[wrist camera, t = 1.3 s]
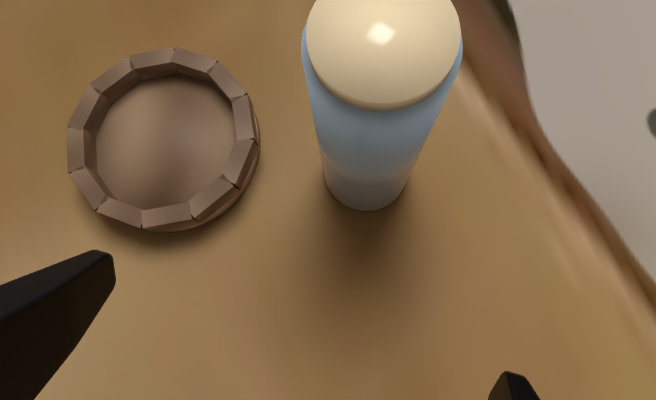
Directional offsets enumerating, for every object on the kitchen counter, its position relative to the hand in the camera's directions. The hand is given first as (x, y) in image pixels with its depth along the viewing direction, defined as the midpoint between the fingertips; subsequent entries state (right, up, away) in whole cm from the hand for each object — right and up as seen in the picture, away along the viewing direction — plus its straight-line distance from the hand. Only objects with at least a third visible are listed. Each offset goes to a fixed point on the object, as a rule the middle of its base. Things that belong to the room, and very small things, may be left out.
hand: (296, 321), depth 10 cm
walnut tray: (-8, +6, +15) cm, 18 cm away
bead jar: (+3, +4, +14) cm, 15 cm away
